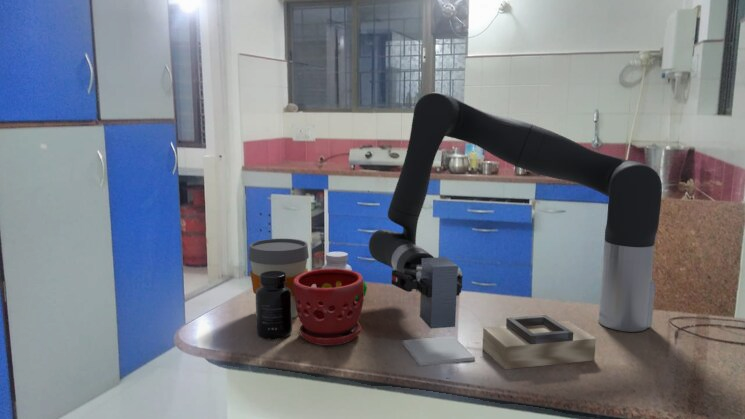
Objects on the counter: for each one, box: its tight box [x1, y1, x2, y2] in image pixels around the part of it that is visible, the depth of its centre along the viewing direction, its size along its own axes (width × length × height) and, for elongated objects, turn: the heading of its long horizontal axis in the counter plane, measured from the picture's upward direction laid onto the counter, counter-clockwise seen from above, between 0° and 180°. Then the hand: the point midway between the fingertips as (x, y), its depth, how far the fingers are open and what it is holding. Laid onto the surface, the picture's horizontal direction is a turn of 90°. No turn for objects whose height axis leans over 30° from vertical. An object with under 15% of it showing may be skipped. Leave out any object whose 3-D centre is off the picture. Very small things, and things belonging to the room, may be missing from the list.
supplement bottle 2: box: [321, 251, 353, 288], centre depth 123 cm, size 7×7×13 cm
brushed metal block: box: [419, 256, 459, 330], centre depth 102 cm, size 4×6×11 cm
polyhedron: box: [355, 280, 368, 301], centre depth 133 cm, size 5×5×5 cm
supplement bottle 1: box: [255, 271, 293, 341], centre depth 110 cm, size 7×7×12 cm
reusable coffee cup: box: [248, 238, 310, 319], centre depth 122 cm, size 13×13×15 cm
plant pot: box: [293, 268, 364, 346], centre depth 109 cm, size 13×13×12 cm
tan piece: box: [482, 314, 597, 370], centre depth 102 cm, size 17×9×6 cm, turn 104°
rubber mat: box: [402, 335, 476, 366], centre depth 104 cm, size 10×10×1 cm
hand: (444, 291), depth 99 cm, fingers closed on brushed metal block, 4 cm apart
